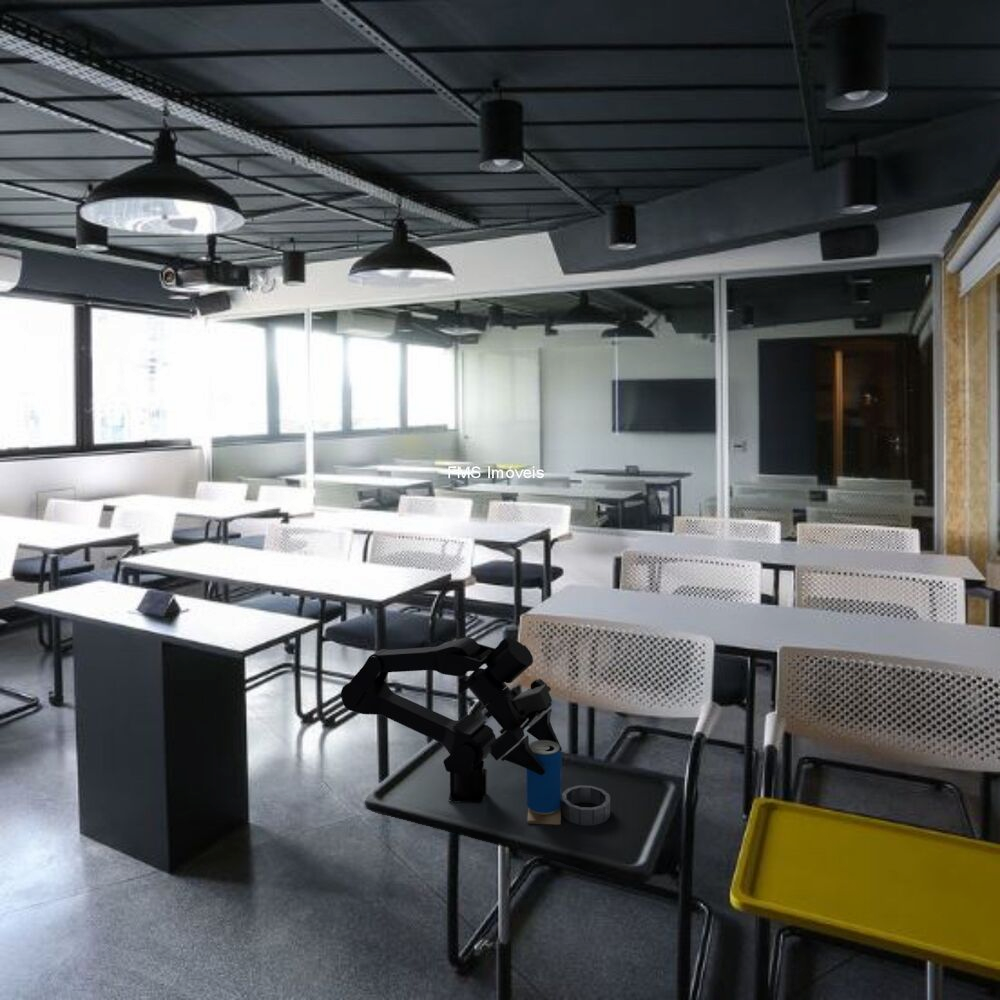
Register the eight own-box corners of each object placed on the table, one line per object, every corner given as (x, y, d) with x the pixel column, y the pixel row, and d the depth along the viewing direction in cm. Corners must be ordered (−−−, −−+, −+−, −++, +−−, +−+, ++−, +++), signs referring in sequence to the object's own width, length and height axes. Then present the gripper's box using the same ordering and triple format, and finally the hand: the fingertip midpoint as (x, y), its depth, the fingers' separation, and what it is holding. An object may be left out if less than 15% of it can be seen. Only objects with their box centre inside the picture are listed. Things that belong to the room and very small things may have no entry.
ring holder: (561, 824, 148) (561, 808, 148) (561, 799, 157) (562, 784, 156) (611, 826, 148) (611, 810, 147) (608, 801, 156) (608, 786, 156)
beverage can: (560, 818, 149) (560, 755, 147) (525, 815, 150) (524, 753, 148) (562, 799, 156) (562, 739, 154) (527, 798, 156) (527, 738, 154)
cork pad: (527, 823, 149) (527, 820, 148) (529, 798, 157) (529, 795, 157) (560, 824, 148) (560, 821, 148) (560, 799, 157) (560, 796, 157)
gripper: (505, 688, 142) (566, 760, 139) (541, 655, 159) (596, 718, 156) (464, 725, 146) (523, 795, 143) (504, 688, 163) (557, 750, 160)
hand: (552, 762), depth 151 cm, fingers open, 9 cm apart
